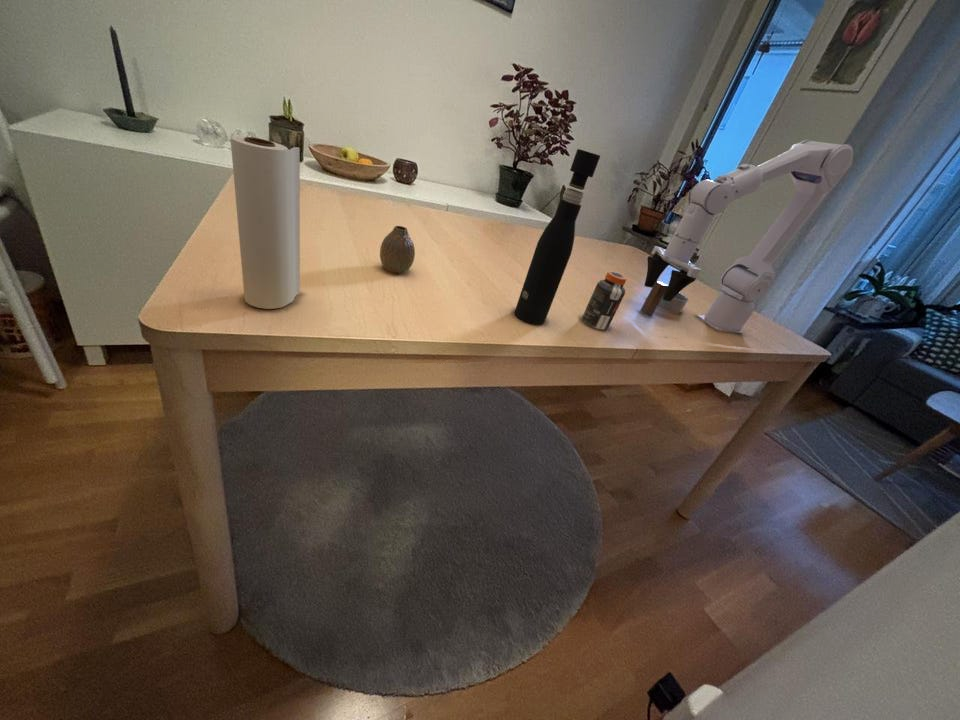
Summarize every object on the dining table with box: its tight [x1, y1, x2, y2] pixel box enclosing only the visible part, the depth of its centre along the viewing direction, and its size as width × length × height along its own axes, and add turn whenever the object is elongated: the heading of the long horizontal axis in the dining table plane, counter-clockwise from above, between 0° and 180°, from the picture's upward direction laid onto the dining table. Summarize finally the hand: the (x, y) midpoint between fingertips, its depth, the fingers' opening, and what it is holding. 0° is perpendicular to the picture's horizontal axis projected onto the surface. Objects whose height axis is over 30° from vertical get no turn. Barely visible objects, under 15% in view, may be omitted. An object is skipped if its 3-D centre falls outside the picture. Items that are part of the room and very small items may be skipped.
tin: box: [657, 292, 689, 314], centre depth 105 cm, size 9×9×4 cm
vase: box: [379, 225, 416, 275], centre depth 76 cm, size 7×7×9 cm
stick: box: [639, 280, 669, 316], centre depth 93 cm, size 2×2×8 cm
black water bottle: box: [514, 148, 601, 326], centre depth 68 cm, size 6×6×30 cm
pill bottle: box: [581, 270, 628, 330], centre depth 79 cm, size 6×6×11 cm
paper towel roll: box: [229, 135, 301, 310], centre depth 51 cm, size 7×6×21 cm
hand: (657, 293), depth 92 cm, fingers open, 7 cm apart
